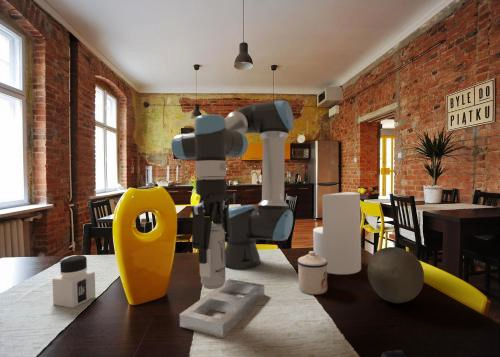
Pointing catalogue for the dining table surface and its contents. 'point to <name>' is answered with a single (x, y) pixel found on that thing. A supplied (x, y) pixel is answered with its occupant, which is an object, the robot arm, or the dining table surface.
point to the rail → (222, 308)
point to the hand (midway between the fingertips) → (213, 271)
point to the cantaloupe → (395, 274)
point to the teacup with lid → (312, 273)
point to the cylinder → (340, 233)
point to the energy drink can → (216, 258)
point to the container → (73, 282)
